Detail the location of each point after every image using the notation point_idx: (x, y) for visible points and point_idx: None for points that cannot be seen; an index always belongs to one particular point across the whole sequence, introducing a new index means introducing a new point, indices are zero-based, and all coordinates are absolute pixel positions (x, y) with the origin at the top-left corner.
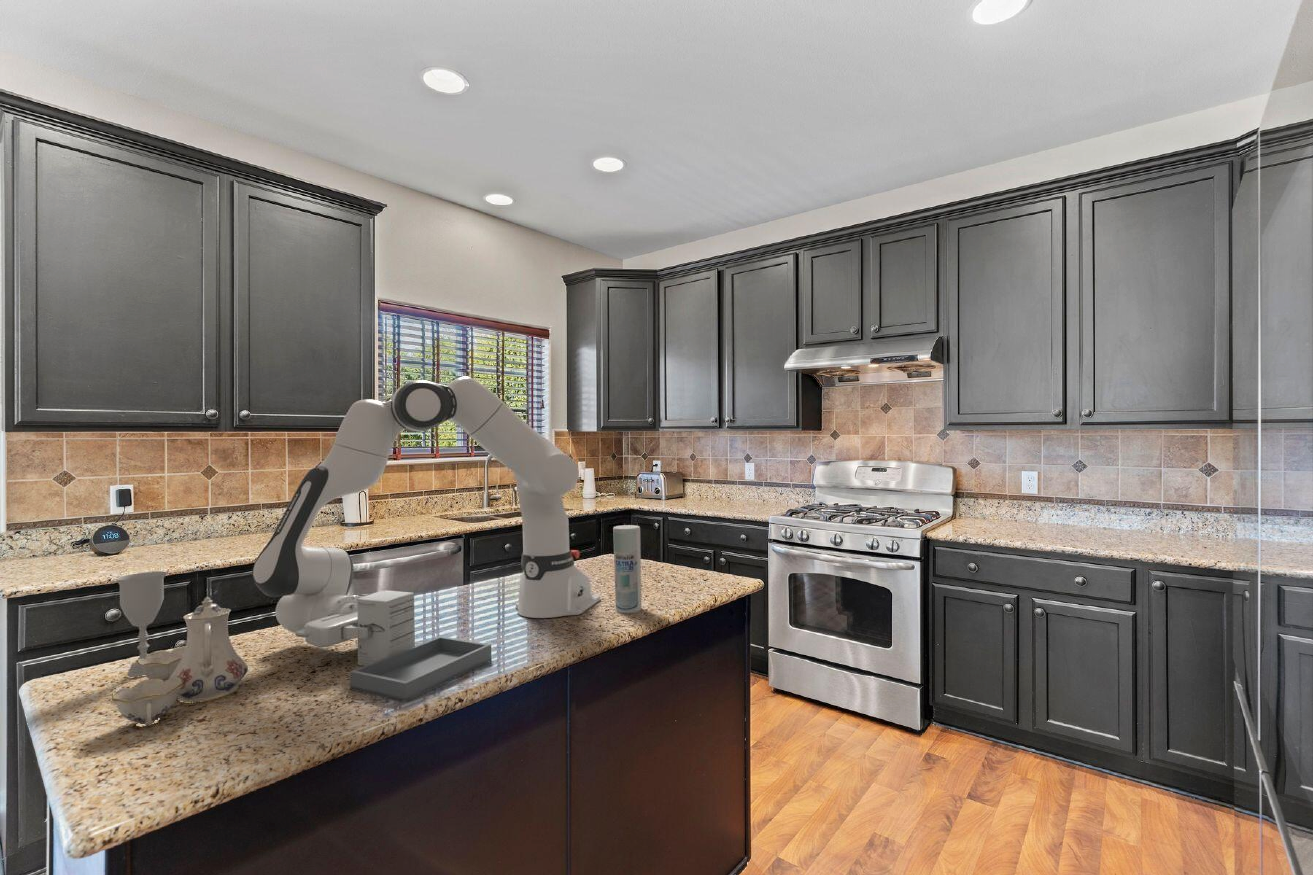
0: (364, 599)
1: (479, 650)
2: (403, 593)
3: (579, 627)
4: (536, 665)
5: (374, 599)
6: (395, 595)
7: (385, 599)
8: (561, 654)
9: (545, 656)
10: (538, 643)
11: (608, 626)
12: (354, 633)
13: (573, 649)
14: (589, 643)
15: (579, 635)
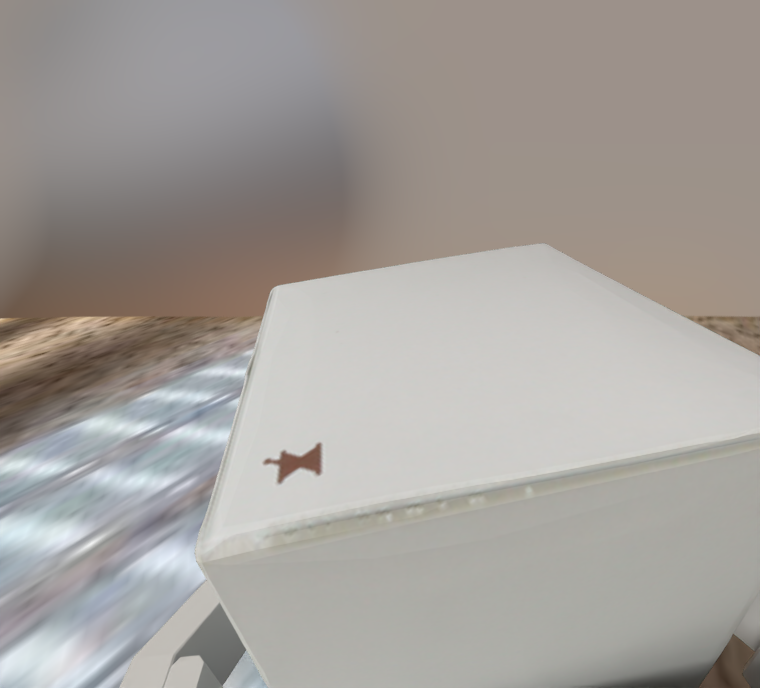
0: (724, 340)
1: None
2: (331, 291)
3: (39, 373)
4: None
5: (611, 287)
6: (413, 281)
7: (532, 258)
8: (240, 320)
9: (255, 329)
10: (167, 371)
11: (51, 344)
12: None
13: (209, 321)
14: (172, 321)
15: (112, 349)
